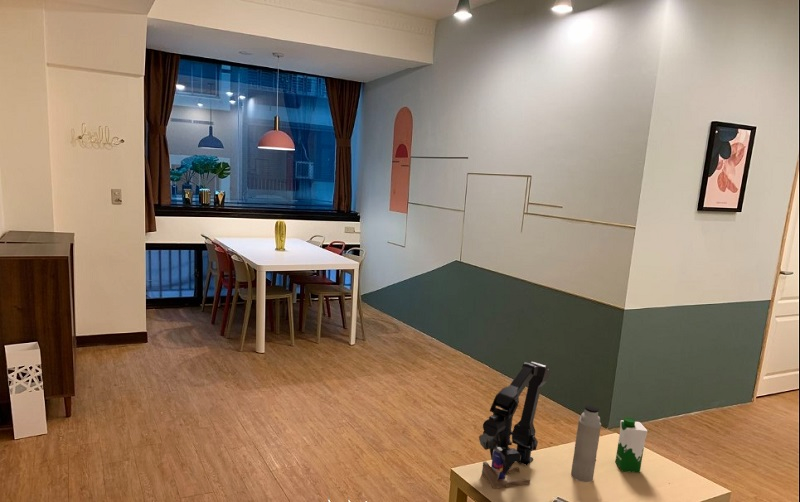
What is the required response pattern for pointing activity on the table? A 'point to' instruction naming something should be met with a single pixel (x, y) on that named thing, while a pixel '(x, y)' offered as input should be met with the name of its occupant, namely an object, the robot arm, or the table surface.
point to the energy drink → (497, 463)
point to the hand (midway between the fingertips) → (498, 466)
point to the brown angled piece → (501, 483)
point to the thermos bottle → (586, 445)
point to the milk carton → (630, 445)
